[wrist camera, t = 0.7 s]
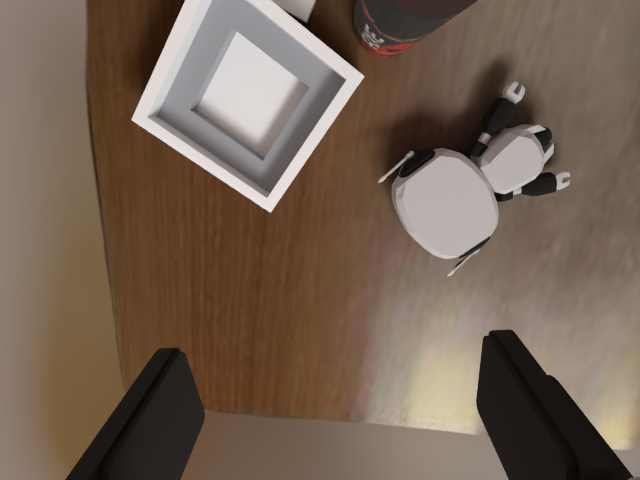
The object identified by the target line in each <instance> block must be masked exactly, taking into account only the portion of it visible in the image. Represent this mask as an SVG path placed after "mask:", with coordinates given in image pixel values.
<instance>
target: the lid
mask: <svg viewBox="0 0 640 480" xmlns="http://www.w3.org/2000/svg"><path fill="white" fill-rule="evenodd" d="M272 1H273V2H274V3H275V4H276V5H278V6H279V7H280V8H281V9H283V10H284V11H285V12H287V13H289V14H291V15H293V16H294V17H296V18H298V19H300V20H302V21H303V22H305V23H308V20H309V18H310V15H311V13H312V10H313V8H314V5H315V2H316V0H272Z"/></svg>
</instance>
